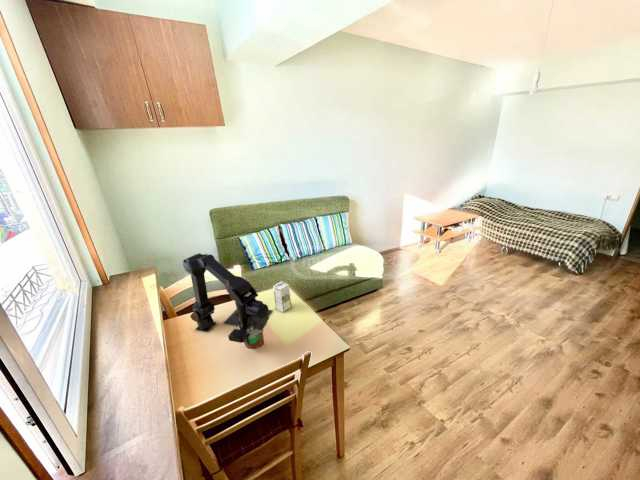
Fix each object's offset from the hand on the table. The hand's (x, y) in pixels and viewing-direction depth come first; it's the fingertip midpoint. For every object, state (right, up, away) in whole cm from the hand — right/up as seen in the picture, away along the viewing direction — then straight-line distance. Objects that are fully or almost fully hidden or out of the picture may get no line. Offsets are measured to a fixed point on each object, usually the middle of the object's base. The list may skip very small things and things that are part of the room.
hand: (251, 339), depth 118 cm
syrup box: (+7, +8, +28) cm, 31 cm away
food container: (-1, -3, +1) cm, 3 cm away
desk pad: (-9, +5, +22) cm, 24 cm away
